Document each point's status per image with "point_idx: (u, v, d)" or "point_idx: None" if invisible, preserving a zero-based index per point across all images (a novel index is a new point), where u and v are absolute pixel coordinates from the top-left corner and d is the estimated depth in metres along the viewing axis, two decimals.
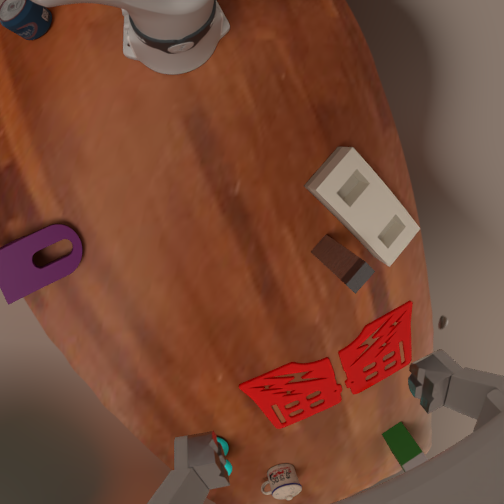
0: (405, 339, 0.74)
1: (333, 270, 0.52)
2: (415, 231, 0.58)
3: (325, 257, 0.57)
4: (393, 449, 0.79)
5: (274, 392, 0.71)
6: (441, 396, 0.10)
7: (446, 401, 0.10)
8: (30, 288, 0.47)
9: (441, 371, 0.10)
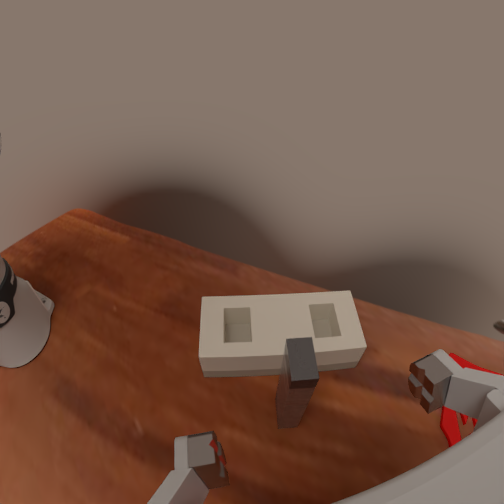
0: None
1: (285, 398, 0.31)
2: (348, 296, 0.47)
3: (281, 408, 0.35)
4: None
5: None
6: (441, 396, 0.10)
7: (446, 401, 0.10)
8: None
9: (441, 371, 0.10)
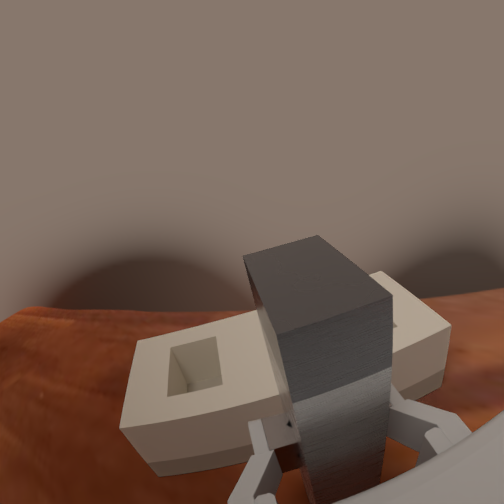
0: None
1: (305, 463, 0.08)
2: (383, 277, 0.26)
3: (313, 502, 0.10)
4: None
5: None
6: None
7: (389, 431, 0.10)
8: None
9: None
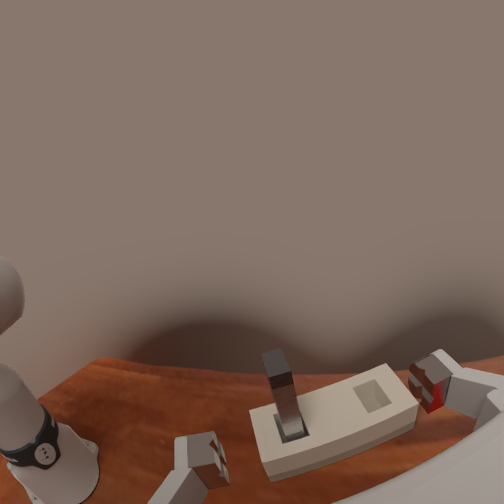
0: None
1: (276, 406, 0.35)
2: (386, 368, 0.44)
3: None
4: None
5: None
6: (441, 396, 0.10)
7: (446, 401, 0.10)
8: None
9: (441, 371, 0.10)
